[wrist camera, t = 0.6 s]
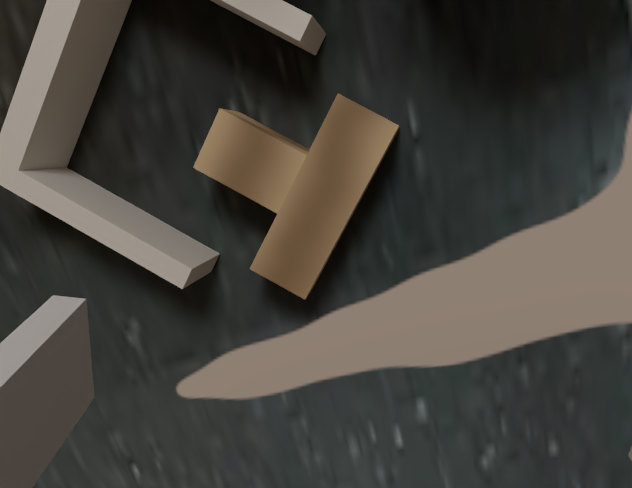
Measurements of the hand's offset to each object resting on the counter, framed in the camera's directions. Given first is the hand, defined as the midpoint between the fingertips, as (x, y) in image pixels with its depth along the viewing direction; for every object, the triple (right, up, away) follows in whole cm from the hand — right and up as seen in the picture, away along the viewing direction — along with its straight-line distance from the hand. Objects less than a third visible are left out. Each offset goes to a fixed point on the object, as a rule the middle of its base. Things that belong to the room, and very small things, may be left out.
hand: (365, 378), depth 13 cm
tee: (-3, +8, +24) cm, 26 cm away
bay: (-11, +12, +25) cm, 30 cm away
